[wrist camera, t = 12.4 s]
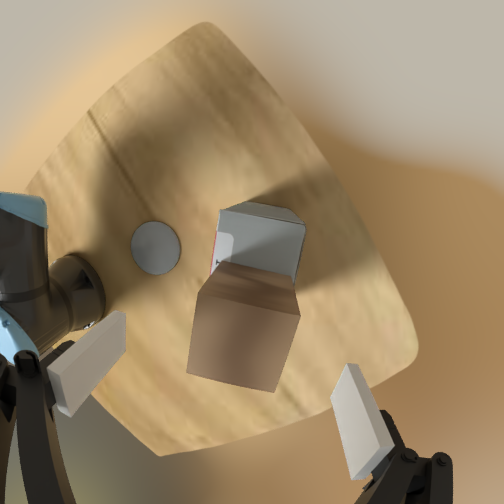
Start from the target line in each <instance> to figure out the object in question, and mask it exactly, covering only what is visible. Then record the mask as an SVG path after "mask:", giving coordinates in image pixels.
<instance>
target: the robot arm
mask: <svg viewBox="0 0 504 504" xmlns="http://www.w3.org/2000/svg"><path fill="white" fill-rule="evenodd" d="M47 229H48V225H47V205H46V202H45V201H44V199H43V198H41V197H39V196H34V195H26V194H18V193H10V192H0V353H1V354H2V355H1V354H0V504H5V485H6V473H7V466H8V458H9V452H10V446H11V441H12V436H13V431H14V426H15V422H16V419H17V435H18V448H19V456H20V464H21V470H22V475H23V481H24V486H25V491H26V495H27V500H28V504H76V501H75V498H74V496H73V493H72V490H71V487H70V483H69V480H68V477H67V473H66V470H65V466H64V462H63V458H62V454H61V450H60V446H59V441H58V435H57V430H56V424H55V418H54V411H53V409H52V406H53V405H54V404H55V403H56V404H57V407H58V409H59V411H61V412H63V413H64V414H66V415H68V416H69V417H72V415H73V414H74V413H75V412H76V410H77V409H78V408H79V407H80V405H81V404H82V403H83V402H84V400H85V399H86V398H87V397H88V395H89V394H90V393H91V392H92V391H93V389H94V388H95V387H96V386H97V385H98V383H99V382H100V381H101V380H102V379H103V377H104V376H105V375H106V374H107V372H108V371H109V370H110V369H111V368H112V367H113V365H114V364H115V363H116V362H117V361H118V359H119V358H120V357H121V356H122V355H123V353H124V352H125V351H126V344H125V334H126V313H123V312H120V311H117V310H114V311H113V312H112V313H110V314H109V315H108V316H107V317H105V318H104V319H103V320H102V321H101V322H99V323H98V324H97V325H96V326H95V327H93V328H92V329H91V330H90V331H89V332H87V333H86V334H85V335H84V336H83V337H81V338H80V339H79V340H78V341H77V342H74V341H72V340H69V341H66V342H64V343H62V344H61V345H59V346H58V347H57V349H54V350H53V351H52V353H50V354H48V355H47V356H46V357H45V358H44V359H42V360H41V361H40V362H39V359H38V358H39V356H41V355H42V354H43V353H44V352H46V350H48V349H49V348H50V347H52V346H53V345H54V344H55V343H57V342H58V341H59V340H60V339H61V338H63V337H64V336H65V335H66V334H68V333H69V332H73V331H78V330H83V329H87V328H90V327H92V326H93V325H94V324H96V323H97V322H98V321H99V320H100V319H101V317H102V316H103V313H104V310H105V294H104V289H103V286H102V283H101V281H100V279H99V277H98V275H97V273H96V272H95V270H94V269H93V268H92V267H91V265H90V264H89V263H87V262H86V261H85V260H83V259H82V258H80V257H78V256H74V255H68V256H64V257H62V258H59V259H57V260H56V261H54V262H53V263H52V264H51V266H50V267H49V268H48V242H47ZM7 360H8V361H10V362H11V363H13V364H15V367H14V366H11V365H8V363H7ZM330 398H331V402H332V405H333V409H334V413H335V417H336V420H337V424H338V428H339V432H340V436H341V439H342V444H343V448H344V452H345V456H346V460H347V464H348V468H349V473H350V477H351V480H358V479H365V478H366V477H367V476H368V475H369V474H370V473H372V476H373V479H372V480H371V481H370V482H369V483H368V484H367V485H366V486H365V487H363V489H364V491H363V492H362V494H361V495H360V497H359V498H358V499H357V501H356V502H355V504H453V465H452V460H451V458H450V456H448V455H447V454H446V453H443V452H438V453H435V454H434V455H433V456H432V458H422V457H419V456H418V454H417V453H416V452H415V451H414V450H412V449H409V448H406V447H405V445H404V443H403V440H402V438H401V436H400V434H399V432H398V430H397V428H396V426H395V424H394V421H393V419H392V417H391V416H390V414H388V413H387V411H386V410H379V409H378V406H377V404H376V402H375V400H374V398H373V396H372V393H371V391H370V389H369V387H368V385H367V383H366V381H365V378H364V376H363V374H362V372H361V370H360V368H359V366H358V364H351V363H346V365H345V367H344V369H343V372H342V374H341V376H340V378H339V380H338V382H337V384H336V386H335V388H334V390H333V392H332V394H331V396H330Z"/></svg>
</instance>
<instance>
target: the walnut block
mask: <svg viewBox="0 0 504 504" xmlns="http://www.w3.org/2000/svg"><path fill="white" fill-rule="evenodd" d="M300 317H301V315H300V311H299V307H298V303H297V298H296V294H295V290H294V286H293V282H292V278H291V276H288V275H284V274H279V273H275V272H270V271H266V270H262V269H257V268H253V267H249V266H244V265H240V264H236V263H231V262H227V261H223V260H221V262H220V263H219V265H218V266H217V267H216V269H215V270H214V271H213V273H212V274H211V275H210V277H209V278H208V280H207V281H206V282H205V284H204V285H203V286H202V288H201V289H200V291H199V292H198V296H197V302H196V308H195V315H194V321H193V328H192V335H191V342H190V349H189V356H188V364H187V372H186V373H189V374H192V375H196V376H200V377H203V378H207V379H211V380H215V381H219V382H223V383H228V384H232V385H236V386H241V387H246V388H251V389H256V390H261V391H267V392H272V393H274V392H275V390H276V387H277V384H278V381H279V379H280V376H281V373H282V370H283V368H284V365H285V362H286V359H287V356H288V353H289V350H290V347H291V344H292V341H293V338H294V335H295V332H296V329H297V326H298V323H299V320H300Z"/></svg>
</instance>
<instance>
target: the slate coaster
mask: <svg viewBox="0 0 504 504" xmlns="http://www.w3.org/2000/svg"><path fill="white" fill-rule="evenodd" d="M131 252H132V256H133V258H134V260H135V262H136V263H137V265H138V266H139V267H140V268H141V269H142V270H144V271H145V272H147V273H150V274H154V275H160V274H164V273H166V272H168V271H170V270H171V269H172V268H173V267H174V266H175V265H176V263H177V261H178V259H179V255H180V245H179V241H178V238H177V236H176V234H175V233H174V231H173V230H172V229H171V228H170V227H169V226H167V225H166V224H164V223H161V222H157V221H152V222H147V223H144V224H142V225H141V226H140V227H138V228H137V230H136V231H135V233H134V234H133V237H132V241H131Z"/></svg>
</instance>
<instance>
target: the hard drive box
mask: <svg viewBox="0 0 504 504" xmlns="http://www.w3.org/2000/svg"><path fill="white" fill-rule="evenodd" d="M306 230H307V229H306V226H305V223H304V222H303V221H302V220H301V219H299V217H298V216H297V215H295V214H294V213H293V212H292V211H291V210H290V209H287V208H282V207H277V206H271V205H266V204H260V203H254V202H248V201H245V202H242V203H240V204H237V205H234V206H231V207H229V208H226V209H223V210H220V211H219V218H218V224H217V230H216V236H215V242H214V249H213V255H212V262H211V270H210V275H211V274H212V273H213V271H214V270H215V269H216V267H217V266H218V265H219V263H220V262H221V260H223V261H227V262H231V263H236V264H240V265H244V266H249V267H253V268H257V269H262V270H266V271H270V272H275V273H279V274H284V275H288V276H291V278H292V282H293V286H294V285H295V281H296V277H297V273H298V269H299V265H300V260H301V256H302V251H303V246H304V241H305V236H306Z"/></svg>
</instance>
